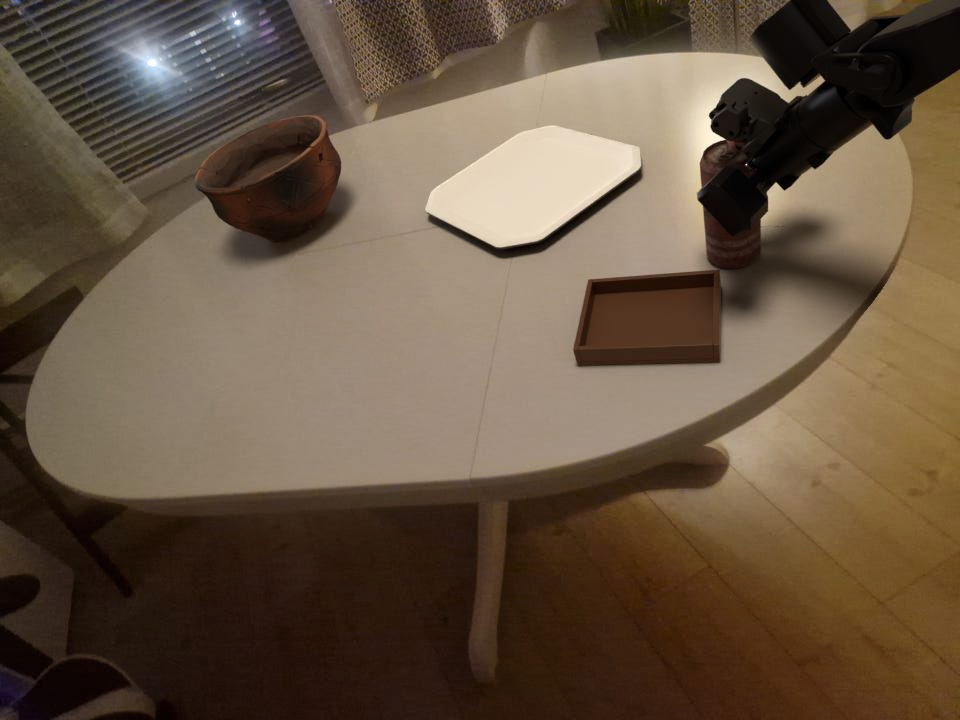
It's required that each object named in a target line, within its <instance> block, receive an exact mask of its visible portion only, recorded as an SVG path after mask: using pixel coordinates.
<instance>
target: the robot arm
mask: <svg viewBox="0 0 960 720" xmlns="http://www.w3.org/2000/svg"><path fill="white" fill-rule="evenodd" d="M748 41H749V42H750V43H751V45H752V46H753V47H754V48H755V49H756V51H757V52H758V53H759V54H760V56H761V58H763V60H764V61H765V62H766V63H767V65H768V66H769V68H770V69H771V70H772V71H773V73H774V74H775V75H776V77H778V79H779V80H780V81H781V83H782V84H783V86H785V87H786V88H787V90H788V91H791V90H792V89H794V88H795V87H796V86H797V85H800V86H801V87H802V88H803V89H805V88H806V87H808V86H809V85H811V84H812V83H813V82H814V81H816V80H817V79H819V78H820V77H821V78H822V79H823V82H821V83H820V84H818V86H817V87H815V88H814V89H813V90H812V91H811V92H809V94H805V95H796V96H795V97H794V98H793V99H792V100H790V101H789V102H788V101H787V100H785V99H784V98H782V97H781V96H780V94H778V93H777V92H776V91H774V90H771V89H770V88H768V87H766V86H764V85H762V84H761V83H758V82H757V81H754V80H753V79H750V78H748V77H741V78H739V79H737V80H736V81H735V82H734V83H733V84H732V85H730V86H729V87H728V88H727V89H726V90H725V91H724V92H723V93H722V94H721V95H720V97H719V100H718V102H717V103H716V106H715V107H714V108H713V109H712V110H711V111H710V112H709V113H708V117H709V119H710V125H709V127H710V130H711V132H713V134H715V135H717V136H719V137H720V138H722V139H723V140H727V141H730V142H731V141H735V140H736V139H739V140H741V141H744V142H749V143H748V144H747V145H746V146H745V147H744V148H743V149H742V151H743V152H744V154H745V155H746V156H747V157H748V158H750V160H749V161H748V162H747V163H746V164H745V166H746V168H747V169H748V170H749V171H751V172H752V171H753V170H754V169H755V168H756V169H757V170H756V171H755V172H754V173H753V174H752V175H751V176H750V177H749V178H747V177H746V176H745V175H744V174H743V173H742V172H741V170H740V169H739V168H736V167H730V166H725V167H724V168H723V169H722V170H720V171H719V172H718V173H717V174H716V175H715V176H714V177H713V178H712V179H711V180H710V181H709V182H707V183H706V184H705V185H704V186H703V187H702V188H700V189H699V190H698V191H697V192H696V198H697V199H696V200H697V201H698V202H699V204H701V206H702V207H703V206H704V207H705V211H704V213H703V216H704V215H705V216H706V217H707V218H708V219H716V220H717V221H718V222H719V223H720V224H721V226H722V227H723V228H724V229H725V230H726V231H727V232H728V233H729V234H730V235H731V236H732V237H738V238H739V237H741V236H742V235H744V234H745V233H747V232H748V231H750V230H751V229H752V228H753V227H754V226H755V225H756V224H757V222H758V221H759V220H760V219H761V220H762V219H763V217H764V216H765V215H766V214H767V213H768V212H769V196H768V192H769V191H770V190H771V189H772V188H773V186H774V185H775V184H777V186H779V187H780V188H781V189H782V191H787V190H788V189H790V188H791V187H792V186H793V185H794V184H795V183H796V182H797V181H798V180H799V178H800V177H802V175H803V174H805V173H806V172H808V171H810V170H811V169H813V170H817V169H819V167H821V166H823V165H824V163H825V162H827V160H829V158H830V157H831V156H832V155H833V154H834V153H835V152H836V151H838V150H839V149H840V148H842V147H843V146H845V145H846V144H847V143H849V142H850V141H852V140H853V139H854V138H856V137H857V136H859V135H861V134H862V133H863V132H864V131H866V130H867V129H869V128H870V127H871V126H873V127H874V128H875V129H876V130H877V132H878V133H879V134H880V136H881V137H882V138H883V140H886V141H887V140H888V141H890V140H891V139H892V138H893V137H895V136H896V135H897V134H898V133H900V132H901V131H902V130H904V129H905V128H906V127H908V126H909V125H910V124H911V123H912V121H913V106H914V103H915V101H916V99H915V98H916V97H918V96H919V95H921V94H923V93H924V92H927V91H928V90H930V89H931V88H934V87H935V86H936V85H938V84H939V83H941V82H943V81H944V80H946V79H948V78H949V77H951V76H952V75H954V74H955V73H957V72H958V71H960V0H930V1H927V2H923V3H920V4H919V5H917V6H915V7H913V8H912V9H910V11H907V12H906V13H905V14H896V15H895V14H894V15H883V16H882V15H881V16H871V17H870V18H868V19H867V20H865V21H864V22H862V24H860V25H858V26H856V28H854V29H853V30H851V28H850V27H849V26H848V24H847V23H846V22H845V21H844V19H843V18H842V17H841V15H840V14H839V13H838V12H837V11H836V10H835V8H834V7H833V5H832V4H831V3H830V2H829V0H788V1H787V2H786V3H785V4H784V5H783V6H781V7H780V8H779V9H778V10H777V11H775V12H774V13H773V14H772V15H771V16H770V17H769V18H767V19H765V20H764V21H762V22H760V24H759V25H758V26H757V27H756V28H755V29H754V31H753V32H752V33H751V34H750V36H749V38H748ZM759 183H760V185H759V186H758V187H756V186H757V185H758V184H759ZM757 188H758V189H757Z"/></svg>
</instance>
